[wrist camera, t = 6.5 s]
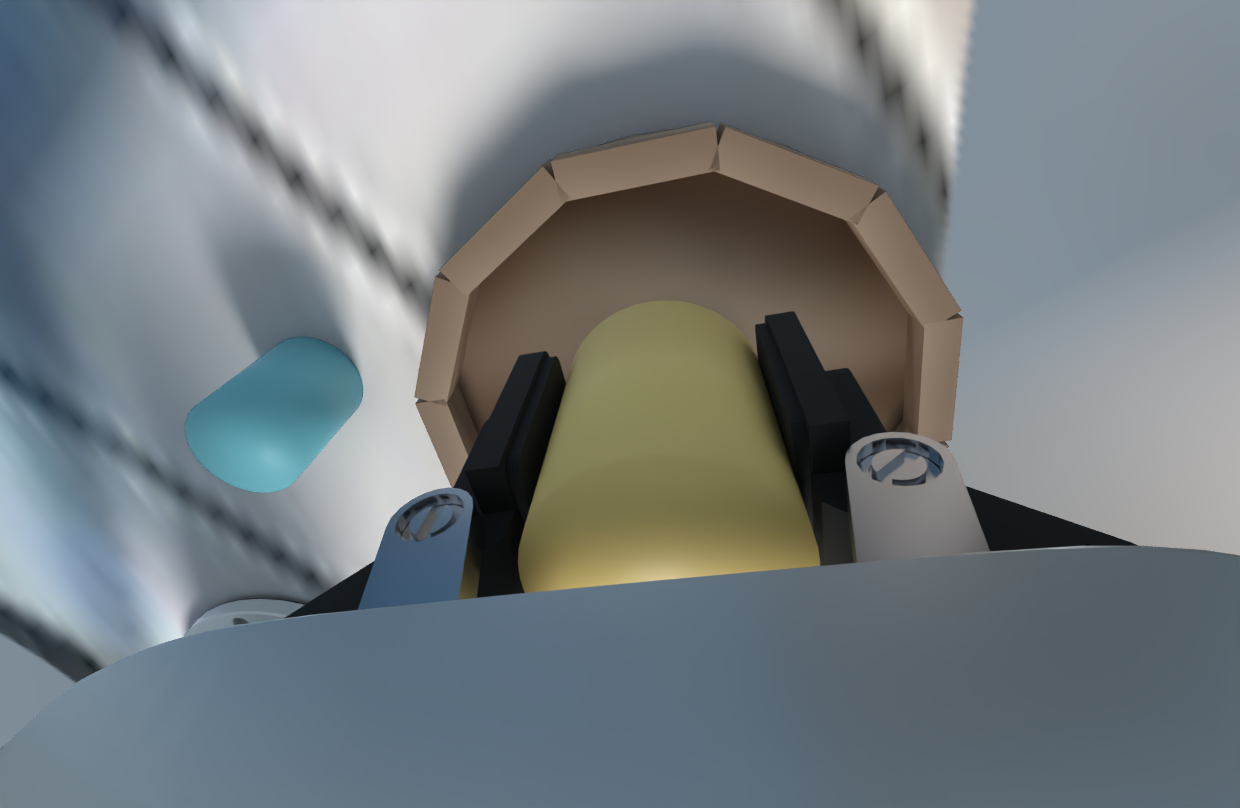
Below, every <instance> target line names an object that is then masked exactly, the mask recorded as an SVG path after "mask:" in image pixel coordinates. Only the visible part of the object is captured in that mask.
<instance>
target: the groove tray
mask: <svg viewBox="0 0 1240 808" xmlns="http://www.w3.org/2000/svg"><path fill="white" fill-rule="evenodd" d="M439 271H440V273H439V274H438V275H437V276H436V277H435V282H434V288H433V294H432V299H431V305H430V311H429V316H428V322H427V328H426V334H425V339H424V345H423V351H422V356H421V362H420V368H419V374H418V379H417V385H416V391H415V396H414V397H416V398H419V399H418V401H417V402H416V403H415V404H416V406H417V409H418V411H419V413H420V416H421V418H422V420H423V423H424V425H425V427H426V429H427V432H428V434H429V436H430V439H431V441H432V443H433V446H434V448H435V450H436V452H437V455H438V457H439V459H440V462H441V464H442V466H443V469H444V471H445V473H446V475H447V478H448V480H449V482H450V485H451V487H452V488H453V487H454V485H455V483H456V481H457V479H458V477H459V474H460V472H461V470H462V468H463V466H464V464H465V462H466V460H467V458H468V456H469V454H470V452H471V450H472V447H473V445H474V443H475V441H476V439H477V437H478V435H479V433H480V431H481V429H482V427H483V425H484V423H485V422H486V420H489V418H490V416H491V413H492V411H493V409H494V407H495V405H496V403H497V401H498V399H499V397H500V394H501V392H502V390H503V388H504V386H505V384H506V382H507V380H508V377H509V375H510V373H511V371H512V369H513V367H514V365H515V363H516V361H517V358H518V357H519V355H523V354H529V353H536V352H542V351H546V352H547V353H548V354H549V356H550V357H554V356H557V357H558V359H559V361H560V364H561V367H562V371H563V374H564V378H565V381H566V383H567V379H568V376H569V372H570V369H571V365H572V362H573V360H574V357H575V355H576V352H577V350H578V349H579V347H580V345H581V344H582V342H583V341H584V339H585V338H586V337H587V336H588V334H589V333H590V332H591V331H592V330H593V329H594V328H595V327H596V326H597V325H598V324H600V323H601V322H602V321H604V320H605V319H607V318H608V317H609V316H611V315H613V314H615V313H617V312H619V311H620V310H623V309H625V308H628V307H631V306H633V305H637V304H641V303H645V302H652V301H661V300H662V301H681V302H688V303H692V304H695V305H699V306H703V307H705V308H707V309H710V310H712V311H714V312H716V313H718V314H720V315H721V316H723V317H725V318H726V319H728V320H729V321H730V322H731V323H733V324H734V325H735V326H736V327H737V328H738V329H739V330H740V331H741V332H742V333H743V334H744V335H745V336H746V338H747V339H748V340H749V342H750V343H751V345H752V346H753V348H754V350H755V352H756V354H757V345H756V334H755V325H756V324H761V323H765V316H766V315H771V314H778V313H784V312H790V311H794V312H795V313H796V315H797V317H798V319H799V321H800V323H801V325H802V327H803V329H804V331H805V333H806V335H807V337H808V339H809V341H810V343H811V345H812V347H813V348H814V350H815V352H816V354H817V356H818V358H819V360H820V362H821V364H822V366H823V368H824V370H825V371H828V370H835V369H842V368H849V370H850V371H851V372H852V374H853V376H854V377H855V379H856V381H857V382H858V384H859V386H860V387H861V389H862V391H863V392H864V394H865V396H866V397H867V399H868V401H869V402H870V404H871V406H872V408H873V409H874V411H875V413H876V414H877V416H878V418H879V419H880V421H881V423H882V424H883V426H884V428H885V429H886V431H887V432H904V433H912V434H916V435H921V436H925V437H927V438H930V439H932V440H934V441H937V442H939V443H940V444H942V445H943V446H944V447H946V448H948V447H949V446H948V445H947V444H946V442H945V441H949V440H952V430H953V419H954V409H955V398H956V388H957V377H958V367H959V356H960V346H961V334H962V325H963V317H962V316H960V315H959V314H958V312H960V311H961V309H960V307H959V306H958V304H957V303H956V301H955V299H954V298H953V296H952V295H951V293H950V291H949V290H948V288H947V287H946V285H945V284H944V282H943V280H942V279H941V277H940V276H939V274H938V273H937V271H936V269H935V268H934V266H933V265H932V263H931V262H930V260H929V258H928V257H927V255H926V254H925V252H924V251H923V249H922V247H921V246H920V244H919V243H918V241H917V240H916V238H915V236H914V235H913V233H912V232H911V230H910V229H909V227H908V225H907V224H906V222H905V221H904V219H903V218H902V216H901V214H900V213H899V211H898V210H897V208H896V207H895V205H894V203H893V202H892V200H891V199H890V197H889V196H888V194H887V192H886V191H884V190H882V189H881V188H879V186H878V185H877V184H875V183H873V182H871V181H869V180H868V179H866V178H864V177H862V176H859V175H857V174H854V173H851V172H849V171H846V170H843V169H841V168H838V167H836V166H833V165H830V164H828V163H825V162H823V161H820V160H817V159H815V158H812V157H810V156H807V155H805V154H802V153H800V152H798V151H796V150H794V149H792V148H790V147H788V146H785V145H781V144H778V143H775V142H771V141H768V140H765V139H763V138H760V137H758V136H755V135H752V134H750V133H747V132H745V131H742V130H739V129H737V128H734V127H732V126H729V125H726V124H724V123H721V122H720V125H719V128H718V130H716V126H715V125H714V124H713V123H712V122H707V123H703V124H698V125H693V126H689V127H684V128H679V129H673V130H666V131H659V132H652V133H645V134H638V135H633V136H629V137H626V138H622V139H619V140H615V141H612V142H609V143H605V144H602V145H598V146H596V147H591V148H587V149H582V150H577V151H573V152H568V153H563V154H559V155H557V156H556V157H555V158H554V159H553V160H551V159H550V160H549V161H548V162H546V163H545V164H544V165H543V166H542V167H541V168H540V169H539V170H538V171H537V172H536V173H535V174H534V175H533V176H532V177H531V178H530V179H529V180H528V181H527V182H526V183H525V184H524V185H523V186H522V187H521V188H520V189H519V190H518V191H517V192H516V193H515V194H514V195H513V196H512V197H511V198H510V199H509V200H508V201H507V202H506V203H505V204H504V205H503V206H502V207H501V208H500V209H499V210H498V211H497V212H496V213H495V214H494V215H493V216H492V217H491V218H490V219H489V220H488V221H487V222H486V223H485V224H484V225H483V226H482V227H481V228H480V229H479V230H478V231H477V232H476V233H475V234H474V235H473V236H472V237H471V238H470V239H469V240H468V241H467V242H466V243H465V244H464V245H463V246H462V247H461V248H460V249H459V250H458V252H457V253H456V254H455V255H454V256H453V257H452V258H451V259H450V260H449V261H448V262H447V263H446V264H445V265H444V266H443V267H442V268H441V269H440V270H439ZM757 357H758V356H757Z"/></svg>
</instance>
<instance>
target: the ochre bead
mask: <svg viewBox="0 0 1240 808" xmlns="http://www.w3.org/2000/svg"><path fill="white" fill-rule="evenodd" d="M813 566H820V557H819V550H818V545H817V542H816V539H815V536H814V533H813V530H812V526H811V523H810V520H809V517H808V514H807V511H806V508H805V504H804V501H803V498H802V495H801V492H800V489H799V486H798V483H797V481H796V479H795V476H794V473H793V470H792V466H791V463H790V460H789V457H788V454H787V451H786V447H785V444H784V441H783V438H782V435H781V431H780V428H779V425H778V422H777V419H776V415H775V412H774V409H773V406H772V403H771V400H770V396H769V393H768V390H767V387H766V384H765V380H764V377H763V374H762V371H761V368H760V365H759V361H758V357H757V354H756V352H755V350H754V348H753V346H752V345H751V343H750V342H749V340H748V339H747V338H746V336H745V335H744V334H743V333H742V332H741V331H740V330H739V329H738V328H737V327H736V326H735V325H734V324H733V323H731V322H730V321H729V320H728V319H726V318H725V317H723V316H721V315H720V314H718V313H716V312H714V311H712V310H710V309H707V308H705V307H703V306H699V305H695V304H692V303H688V302H681V301H662V300H661V301H652V302H645V303H641V304H637V305H633V306H631V307H628V308H625V309H623V310H620V311H619V312H617V313H615V314H613V315H611V316H609V317H608V318H607V319H605V320H604V321H602V322H601V323H600V324H598V325H597V326H596V327H595V328H594V329H593V330H592V331H591V332H590V333H589V334H588V336H587V337H586V338H585V339H584V341H583V342H582V344H581V345H580V347H579V349H578V350H577V352H576V355H575V357H574V360H573V362H572V365H571V369H570V372H569V376H568V379H567V383H566V386H565V389H564V393H563V396H562V400H561V403H560V407H559V410H558V413H557V417H556V420H555V424H554V427H553V431H552V434H551V437H550V441H549V444H548V448H547V451H546V455H545V458H544V461H543V465H542V468H541V472H540V475H539V479H538V482H537V485H536V489H535V492H534V496H533V499H532V503H531V506H530V509H529V513H528V516H527V520H526V523H525V527H524V530H523V533H522V537H521V541H520V546H519V552H518V568H519V575H520V579H521V583H522V586H523V589H524V592H525V593H532V592H542V591H552V590H562V589H573V588H583V587H593V586H604V585H614V584H625V583H636V582H646V581H657V580H668V579H679V578H690V577H701V576H712V575H723V574H734V573H745V572H757V571H768V570H779V569H790V568H802V567H813Z"/></svg>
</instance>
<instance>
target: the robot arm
mask: <svg viewBox="0 0 1240 808" xmlns="http://www.w3.org/2000/svg"><path fill="white" fill-rule="evenodd" d="M755 334H756V345H757V356H758V361H759V365H760V368H761V371H762V374H763V377H764V380H765V384H766V387H767V390H768V393H769V396H770V400H771V403H772V406H773V409H774V412H775V415H776V419H777V422H778V425H779V428H780V431H781V435H782V438H783V441H784V444H785V447H786V451H787V454H788V457H789V460H790V463H791V466H792V470H793V473H794V476H795V479H796V481H797V483H798V486H799V489H800V492H801V495H802V498H803V501H804V504H805V508H806V511H807V514H808V517H809V520H810V523H811V526H812V530H813V533H814V536H815V539H816V542H817V545H818V550H819V557H820V566H813V567H802V568H790V569H779V570H768V571H757V572H745V573H734V574H723V575H712V576H701V577H690V578H679V579H668V580H657V581H646V582H636V583H625V584H614V585H604V586H593V587H583V588H573V589H562V590H552V591H542V592H532V593H525V592H524V589H523V586H522V583H521V579H520V575H519V568H518V552H519V546H520V541H521V537H522V533H523V530H524V527H525V523H526V520H527V516H528V513H529V509H530V506H531V503H532V499H533V496H534V492H535V489H536V485H537V482H538V479H539V475H540V472H541V468H542V465H543V461H544V458H545V455H546V451H547V448H548V444H549V441H550V437H551V434H552V431H553V427H554V424H555V420H556V417H557V413H558V410H559V407H560V403H561V400H562V396H563V393H564V389H565V386H566V381H565V378H564V374H563V371H562V367H561V364H560V361H559V359H558V357H557V356H554V357H550V356H549V354H548V353H547V352H546V351H542V352H536V353H529V354H523V355H519V357H518V358H517V361H516V363H515V365H514V367H513V369H512V371H511V373H510V375H509V377H508V380H507V382H506V384H505V386H504V388H503V390H502V392H501V394H500V397H499V399H498V401H497V403H496V405H495V407H494V409H493V411H492V413H491V416H490V418H489V420H486V422H485V423H484V425H483V427H482V429H481V431H480V433H479V435H478V437H477V439H476V441H475V443H474V445H473V447H472V450H471V452H470V454H469V456H468V458H467V460H466V462H465V464H464V466H463V468H462V470H461V472H460V474H459V477H458V479H457V481H456V483H455V485H454V487H453V488H444V489H437V490H434V491H431V492H427V493H424V494H422V495H420V496H418V497H416V498H414V499H412V500H411V501H409V502H408V503H407V504H405V505H404V506H403V507H401V508H400V509H399V510H398V511H397V512H396V513H395V514H394V515H393V516H392V518H391V519H390V521H389V523H388V525H387V527H386V529H385V532H384V535H383V538H382V541H381V544H380V547H379V550H378V553H377V555H376V558H375V561H374V562H372V563H370V564H369V565H367V566H366V567H364V568H362V569H361V570H359V571H358V572H356V573H355V574H353V575H351V576H350V577H348V578H347V579H345V580H343V581H342V582H340V583H339V584H337V585H336V586H334V587H332V588H331V589H329V590H328V591H326V592H324V593H323V594H321V595H320V596H318V597H317V598H315V599H313V600H312V601H310V602H309V603H307V604H305V605H304V604H299V603H294V602H289V601H284V600H272V599H249V600H238V601H234V602H230V603H226V604H221V605H219V606H217V607H215V608H213V609H211V610H209V611H207V612H206V613H204V614H203V615H202V616H201V617H200V618H199V619H198V620H196V622H195V623H194V624H193V626H192V627H191V628H190V629H189V631H188V632H187V633H186V635H185V636H184V637H182V638H179V639H175V640H172V641H169V642H165V643H162V644H159V645H157V646H154V647H151V648H148V649H146V650H143V651H141V652H138V653H136V654H134V655H131V656H129V657H127V658H124V659H122V660H120V661H117V662H115V663H113V664H111V665H109V666H107V667H105V668H103V669H101V670H99V671H97V672H95V673H93V674H92V675H90V676H88V677H86V678H84V679H82V680H80V681H79V682H77V683H75V684H74V685H72V686H71V687H69V688H68V689H67V690H65V691H64V692H63V693H61V694H60V695H59V696H57V697H56V698H55V699H54V700H53V701H52V702H50V703H49V704H48V705H47V706H46V707H45V708H44V709H42V710H41V711H40V712H39V713H38V714H37V715H36V716H35V717H34V718H33V719H32V720H30V721H29V722H28V723H27V724H26V725H25V726H24V727H23V728H22V729H21V730H20V731H19V732H18V733H17V734H15V735H14V736H13V737H12V738H11V739H10V740H9V741H8V742H7V743H6V744H5V745H4V746H3V747H2V748H1V749H0V808H1240V556H1239V555H1234V554H1226V553H1220V552H1214V551H1207V550H1196V549H1182V548H1167V547H1153V546H1138V545H1136V544H1133V543H1131V542H1128V541H1125V540H1122V539H1119V538H1116V537H1114V536H1111V535H1108V534H1105V533H1102V532H1099V531H1096V530H1093V529H1090V528H1087V527H1084V526H1081V525H1078V524H1075V523H1072V522H1070V521H1067V520H1064V519H1061V518H1058V517H1055V516H1052V515H1049V514H1046V513H1043V512H1040V511H1037V510H1034V509H1031V508H1028V507H1026V506H1023V505H1019V504H1017V503H1014V502H1011V501H1008V500H1005V499H1002V498H999V497H996V496H993V495H990V494H987V493H984V492H982V491H979V490H975V489H973V488H970V487H967V486H966V485H965V483H964V480H963V478H962V475H961V472H960V469H959V467H958V464H957V462H956V459H955V458H954V456H953V455H952V453H951V452H950V451H949V450H948V449H947V448H946V447H944V446H943V445H942V444H940V443H939V442H937V441H934V440H932V439H930V438H927V437H925V436H921V435H916V434H912V433H904V432H887V431H886V429H885V428H884V426H883V424H882V423H881V421H880V419H879V418H878V416H877V414H876V413H875V411H874V409H873V408H872V406H871V404H870V402H869V401H868V399H867V397H866V396H865V394H864V392H863V391H862V389H861V387H860V386H859V384H858V382H857V381H856V379H855V377H854V376H853V374H852V372H851V371H850V370H849V368H842V369H835V370H828V371H825V370H824V368H823V366H822V364H821V362H820V360H819V358H818V356H817V354H816V352H815V350H814V348H813V347H812V345H811V343H810V341H809V339H808V337H807V335H806V333H805V331H804V329H803V327H802V325H801V323H800V321H799V319H798V317H797V315H796V313H795V312H794V311H790V312H784V313H778V314H771V315H766V316H765V323H761V324H756V325H755Z"/></svg>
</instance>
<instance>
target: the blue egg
mask: <svg viewBox="0 0 1240 808" xmlns="http://www.w3.org/2000/svg"><path fill="white" fill-rule="evenodd" d="M362 397H363V384H362V380H361V377H360V375H359V372H358V371H357V369H356V367H355V366H354V364H353V363H352V362H351V361H350V359H349V358H348V357H347V356H346V355H345V354H344V353H342V352H341V351H340V350H338V349H337V348H335V347H334V346H332V345H330V344H328V343H326V342H324V341H321V340H318V339H314V338H309V337H294V338H290V339H287V340H284V341H282V342H281V343H279V344H278V345H276V346H275V347H274V348H272V349H271V350H270V351H268V352H267V353H266V354H264V355H263V356H262V357H260V358H259V359H258V360H256V361H255V362H254V363H252V364H251V365H250V366H248V367H247V368H246V369H244V370H243V371H242V372H240V373H239V374H238V375H236V376H235V377H234V378H232V379H231V380H230V381H228V382H227V383H226V384H224V385H223V386H222V387H220V388H219V389H218V390H216V391H215V392H214V393H212V394H211V395H210V396H208V397H207V398H206V399H204V400H203V401H202V402H200V403H199V404H198V405H196V406H195V407H194V408H193V409H192V410H191V411H190V413H189V414H188V416H187V419H186V422H185V436H186V440H187V443H188V445H189V447H190V449H191V451H192V453H193V454H194V456H195V457H196V458H197V460H198V461H199V462H200V463H201V464H202V465H203V466H204V467H205V468H206V469H207V470H208V471H209V472H210V473H212V474H213V475H214V476H216V477H217V478H219V479H220V480H222V481H224V482H226V483H228V484H230V485H232V486H234V487H237V488H240V489H243V490H247V491H251V492H259V493H268V492H275V491H279V490H282V489H285V488H287V487H288V486H290V485H291V484H292V483H293V482H294V481H295V480H296V479H297V478H298V477H299V476H300V474H301V473H302V472H303V471H304V470H305V469H306V468H307V466H308V465H309V464H310V463H311V462H312V461H313V459H314V458H315V457H316V456H317V455H318V454H319V452H320V451H321V450H322V449H323V448H324V447H325V445H326V444H327V443H328V442H329V441H330V440H331V438H332V437H333V436H334V435H335V434H336V433H337V431H338V430H339V429H340V428H341V427H342V426H343V425H344V423H345V422H346V421H347V420H348V419H349V418H350V416H351V415H352V414H353V413H354V412H355V411H356V409H357V408H358V407H359V405H360V403H361V401H362Z"/></svg>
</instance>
